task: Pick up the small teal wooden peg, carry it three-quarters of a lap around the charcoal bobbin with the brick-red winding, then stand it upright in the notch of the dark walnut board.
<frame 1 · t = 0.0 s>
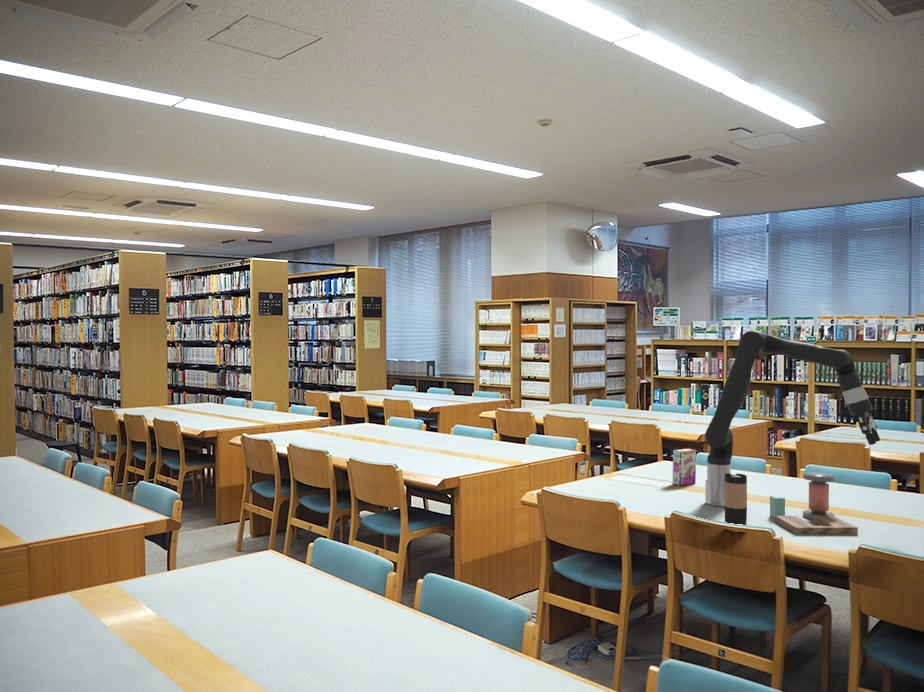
hand: (875, 442, 250), 31 cm above the table, tool tilted 20°, fingers open, 8 cm apart
teal peg: (777, 517, 266), on the table
notched board: (815, 528, 251), on the table
travel mug: (735, 530, 249), on the table
bobbin: (818, 517, 266), on the table
candy bar box: (684, 484, 326), on the table
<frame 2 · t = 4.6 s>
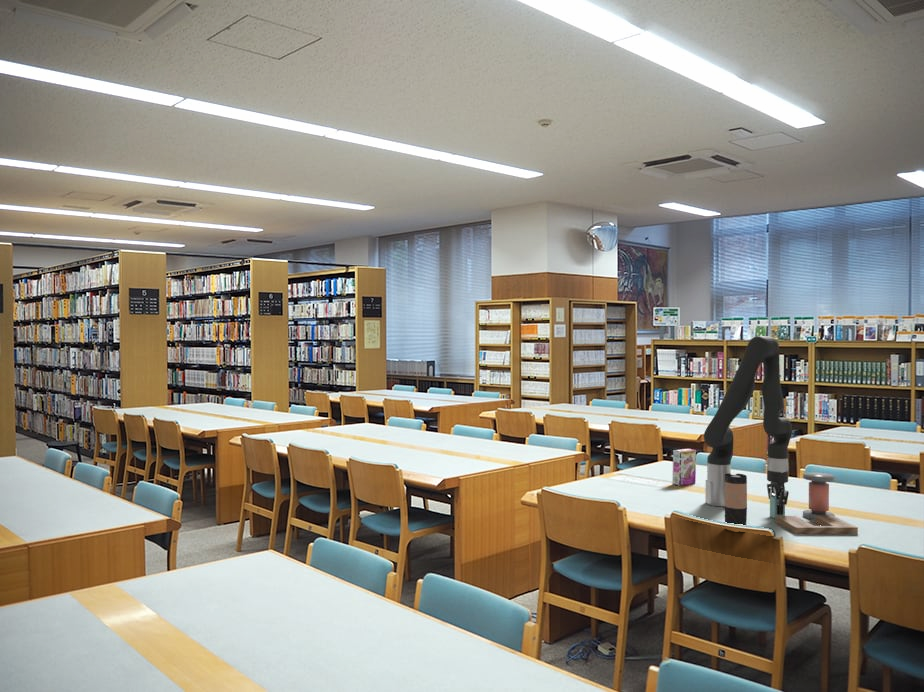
hand: (777, 512, 266), 2 cm above the table, tool pointing down, fingers closed on teal peg, 4 cm apart
teal peg: (777, 517, 266), on the table, touching gripper
everything else where it was.
when the fingers open (3 cm above the table, at t = 14.5 s): teal peg stays where it is, resting in notched board.
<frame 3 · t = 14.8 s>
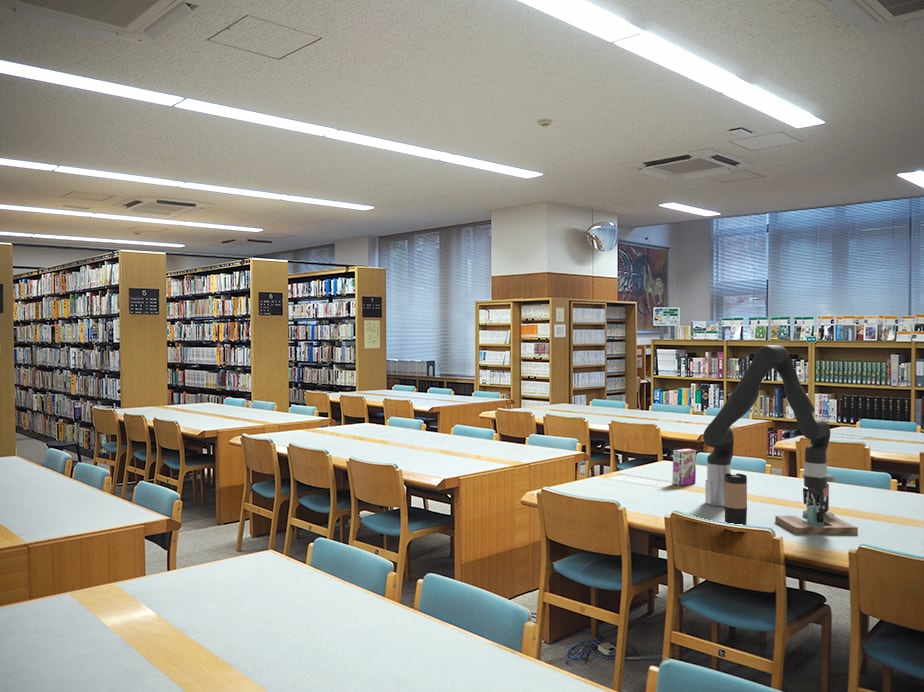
hand: (815, 519, 251), 3 cm above the table, tool pointing down, fingers open, 6 cm apart
teal peg: (815, 528, 251), resting in notched board
everything else where it was.
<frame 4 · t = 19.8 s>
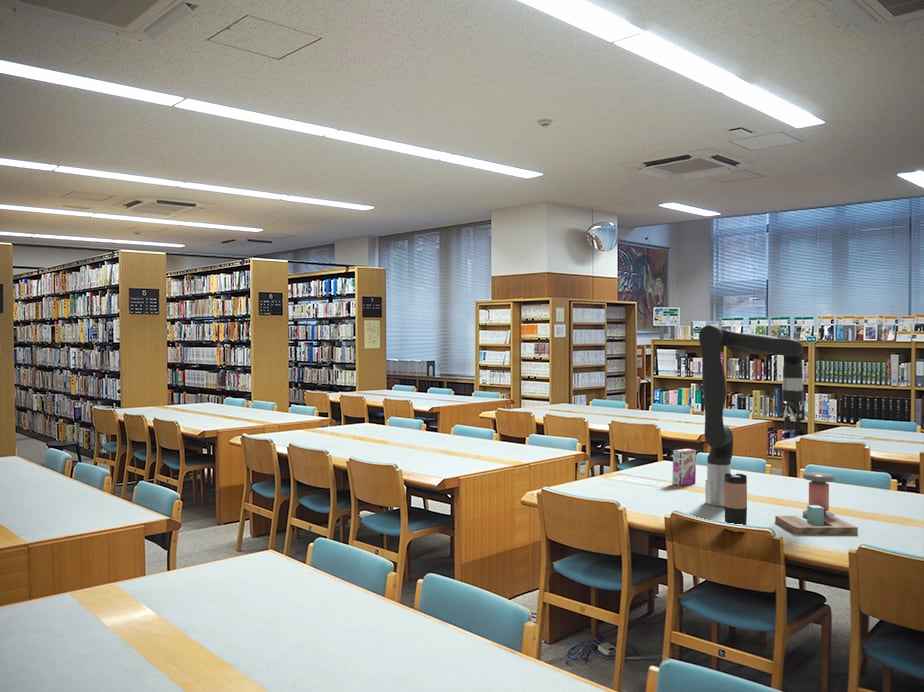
hand: (792, 429, 274), 33 cm above the table, tool pointing down, fingers open, 8 cm apart
nothing on the table moved.
at the end: teal peg 0.4 cm off-centre on the notched board, point 0.0 cm above the notched board's base; teal peg tilted 0°; the gripper is holding nothing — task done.
